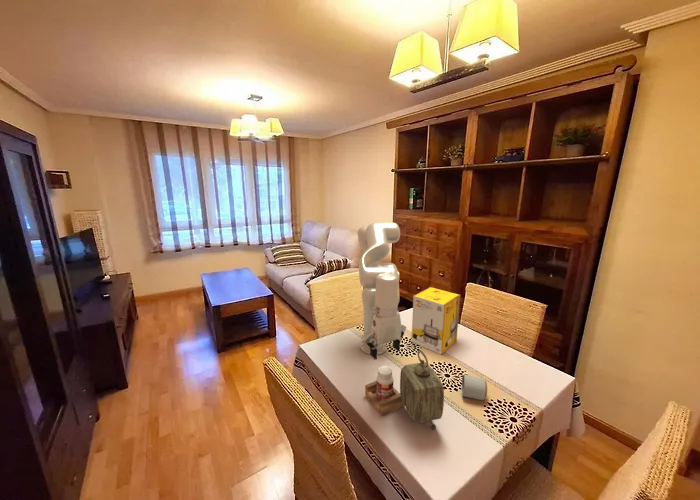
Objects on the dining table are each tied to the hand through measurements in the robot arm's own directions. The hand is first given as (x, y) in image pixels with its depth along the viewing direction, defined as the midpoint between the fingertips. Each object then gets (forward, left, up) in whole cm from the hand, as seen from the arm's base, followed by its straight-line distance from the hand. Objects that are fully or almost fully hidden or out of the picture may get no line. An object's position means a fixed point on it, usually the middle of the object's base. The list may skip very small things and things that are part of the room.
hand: (385, 353), depth 100 cm
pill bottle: (0, 0, -18) cm, 18 cm away
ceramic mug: (+13, +31, -20) cm, 39 cm away
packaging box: (-20, +45, -20) cm, 53 cm away
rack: (+1, 0, -19) cm, 19 cm away
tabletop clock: (+13, +5, -20) cm, 24 cm away
